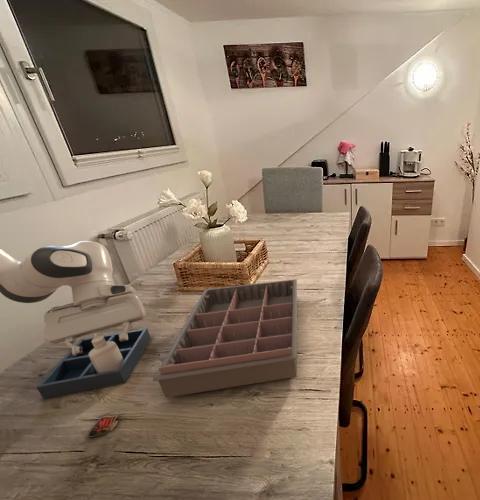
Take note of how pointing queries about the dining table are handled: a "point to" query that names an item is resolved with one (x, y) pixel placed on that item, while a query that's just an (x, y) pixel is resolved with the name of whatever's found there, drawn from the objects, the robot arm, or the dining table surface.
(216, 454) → the dining table surface
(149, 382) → the dining table surface
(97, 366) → the eye dropper bottle
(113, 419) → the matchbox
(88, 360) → the grid
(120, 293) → the robot arm
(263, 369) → the organizer tray
